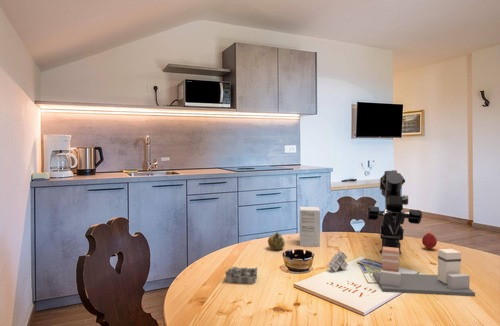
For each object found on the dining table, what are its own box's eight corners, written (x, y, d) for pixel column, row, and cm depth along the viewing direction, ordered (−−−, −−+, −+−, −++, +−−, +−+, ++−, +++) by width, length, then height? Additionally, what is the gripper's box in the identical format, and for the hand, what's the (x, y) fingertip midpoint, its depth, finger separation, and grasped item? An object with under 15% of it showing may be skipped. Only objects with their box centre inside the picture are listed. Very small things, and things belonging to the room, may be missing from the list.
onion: (438, 251, 150) (438, 233, 149) (424, 250, 151) (424, 232, 150) (434, 247, 155) (434, 230, 155) (420, 247, 156) (420, 229, 156)
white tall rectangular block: (437, 279, 115) (438, 249, 114) (451, 278, 115) (452, 248, 115) (445, 283, 111) (446, 253, 110) (460, 282, 111) (461, 252, 111)
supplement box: (299, 240, 168) (299, 206, 167) (318, 241, 166) (319, 206, 166) (299, 246, 158) (299, 209, 158) (320, 246, 157) (320, 210, 156)
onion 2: (288, 248, 155) (288, 230, 155) (280, 252, 148) (280, 234, 148) (273, 245, 159) (273, 228, 159) (265, 250, 152) (264, 232, 152)
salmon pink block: (382, 275, 118) (382, 246, 118) (398, 277, 116) (399, 248, 116) (381, 279, 115) (382, 249, 114) (398, 281, 113) (399, 251, 112)
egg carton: (223, 283, 116) (223, 271, 115) (229, 275, 123) (229, 264, 123) (255, 285, 114) (254, 273, 113) (258, 277, 121) (258, 265, 121)
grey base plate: (372, 275, 122) (372, 261, 122) (453, 278, 119) (454, 264, 119) (382, 291, 108) (382, 275, 108) (474, 295, 105) (475, 279, 105)
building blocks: (339, 276, 126) (352, 259, 128) (331, 267, 124) (344, 250, 127) (330, 271, 131) (342, 255, 133) (322, 263, 129) (334, 246, 131)
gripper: (369, 185, 132) (368, 220, 123) (422, 188, 127) (426, 225, 117) (367, 202, 140) (366, 235, 131) (418, 205, 135) (421, 241, 125)
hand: (394, 234), depth 126 cm, fingers closed
